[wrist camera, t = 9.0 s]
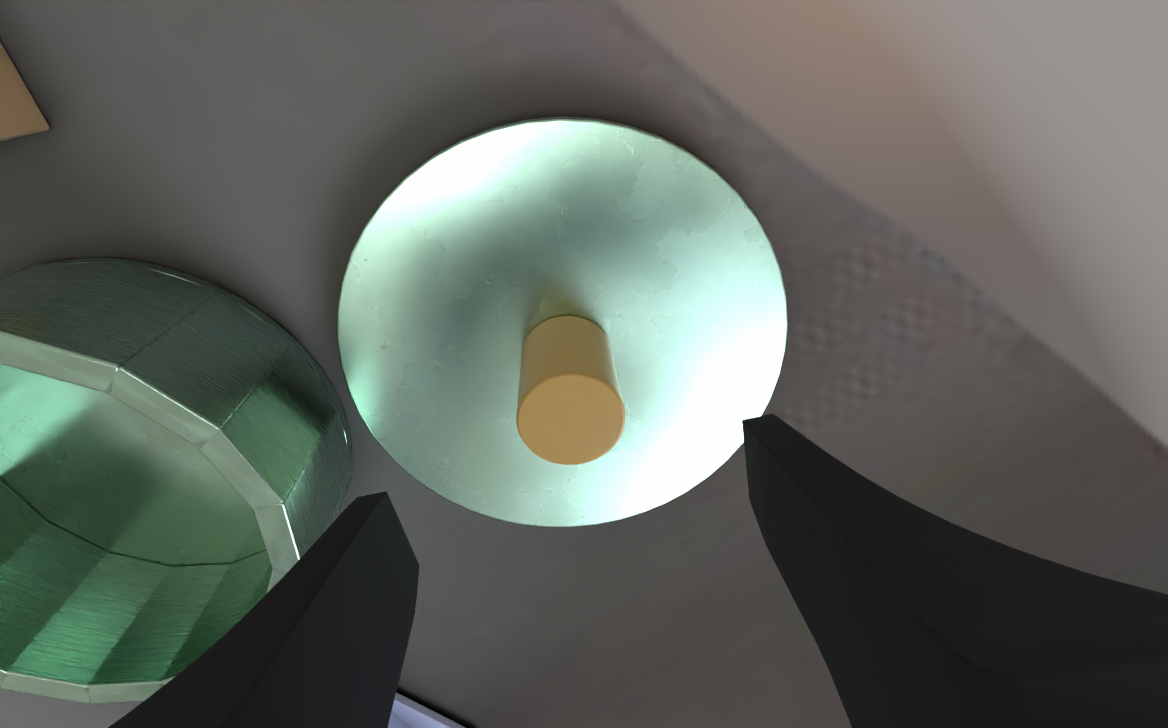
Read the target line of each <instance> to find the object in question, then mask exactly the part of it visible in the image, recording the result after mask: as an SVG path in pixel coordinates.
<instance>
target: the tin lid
mask: <svg viewBox="0 0 1168 728" xmlns="http://www.w3.org/2000/svg"><path fill="white" fill-rule="evenodd" d="M787 328H788V315H787V298H786V292H785V287H784V282H783V277H782V272H781V268H780V265H779V263H778V260H777V257H776V255H775V252H774V249H773V246H772V244H771V241H770V240H769V238H768V236H767V234H766V232H765V231H764V229H763V227H762V225H761V223H760V221H759V220H758V218H757V216H756V215H755V214H754V212H753V211H752V210H751V208H750V207H749V206H748V204H747V203H746V202H745V201H744V199H743V198H742V197H741V195H740V194H739V193H738V192H737V191H736V190H735V189H734V188H733V187H732V186H731V185H730V184H729V183H728V182H727V181H726V180H725V179H724V178H723V177H722V176H721V175H720V174H719V173H718V172H717V171H715V170H714V169H713V168H711V167H710V166H708V165H707V164H706V163H704V162H703V161H702V160H700V159H699V158H697V157H696V156H695V155H693V154H692V153H690V152H689V151H688V150H686V149H684V148H682V147H680V146H678V145H676V144H674V143H672V142H670V141H668V140H667V139H665V138H663V137H661V136H659V135H656V134H653V133H650V132H647V131H645V130H642V129H639V128H636V127H633V126H630V125H627V124H622V123H617V122H612V121H607V120H602V119H597V118H584V117H566V116H558V117H546V118H534V119H525V120H521V121H517V122H512V123H508V124H503V125H499V126H495V127H492V128H489V129H487V130H484V131H481V132H479V133H476V134H474V135H471V136H468V137H466V138H463V139H461V140H459V141H458V142H456V143H454V144H452V145H450V146H449V147H447V148H445V149H443V150H441V151H440V152H438V153H436V154H434V155H433V156H432V157H430V158H429V159H428V160H426V161H425V162H424V163H422V164H421V165H420V166H418V167H417V168H416V169H415V170H413V171H412V172H411V173H409V174H408V175H407V176H406V177H405V178H404V179H403V180H402V181H401V182H400V183H399V184H398V185H397V186H396V187H395V188H394V189H393V190H392V191H391V192H390V194H389V195H388V196H387V197H386V198H385V199H384V200H383V201H382V202H381V204H380V205H379V206H378V208H377V209H376V211H375V212H374V213H373V215H372V216H371V218H370V219H369V221H368V222H367V223H366V225H365V226H364V228H363V230H362V232H361V234H360V236H359V238H358V240H357V242H356V244H355V246H354V248H353V250H352V252H351V255H350V258H349V261H348V264H347V267H346V270H345V273H344V276H343V279H342V284H341V290H340V296H339V302H338V308H337V339H338V347H339V354H340V361H341V366H342V369H343V373H344V376H345V380H346V383H347V386H348V390H349V392H350V394H351V396H352V399H353V401H354V403H355V405H356V408H357V410H358V412H359V414H360V416H361V417H362V419H363V421H364V422H365V424H366V425H367V427H368V429H369V430H370V432H371V433H372V435H373V436H374V438H375V439H376V440H377V441H378V443H379V444H380V445H381V446H382V447H383V449H384V450H385V451H386V452H387V454H388V455H389V456H390V457H391V458H392V459H393V460H394V461H395V462H396V463H397V464H399V465H400V466H401V467H402V468H403V469H404V470H405V471H406V472H407V473H408V474H409V475H411V476H412V477H413V478H415V479H416V480H417V481H419V482H420V483H421V484H423V485H424V486H425V487H427V488H428V489H430V490H432V491H433V492H435V493H437V494H438V495H440V496H442V497H444V498H445V499H447V500H449V501H451V502H453V503H455V504H457V505H460V506H462V507H464V508H466V509H469V510H471V511H473V512H476V513H480V514H483V515H486V516H489V517H492V518H495V519H499V520H504V521H508V522H513V523H518V524H524V525H533V526H543V527H576V526H586V525H596V524H601V523H606V522H611V521H616V520H621V519H624V518H628V517H631V516H634V515H637V514H641V513H644V512H646V511H649V510H651V509H653V508H656V507H658V506H661V505H663V504H665V503H668V502H669V501H671V500H673V499H675V498H677V497H678V496H680V495H682V494H684V493H686V492H687V491H689V490H691V489H692V488H693V487H695V486H696V485H698V484H699V483H701V482H702V481H703V480H705V479H706V478H708V477H709V476H710V475H711V474H713V473H714V472H715V471H716V470H717V469H718V468H719V467H720V466H722V465H723V464H724V463H725V462H726V461H727V460H728V459H729V458H730V457H731V456H732V455H733V454H734V453H735V451H736V450H737V449H738V448H739V447H740V446H741V445H742V444H743V443H744V436H743V426H742V420H744V419H749V418H754V417H759V416H762V414H763V412H764V411H765V409H766V407H767V405H768V403H769V401H770V399H771V397H772V394H773V392H774V389H775V386H776V384H777V381H778V378H779V376H780V372H781V367H782V363H783V359H784V354H785V350H786V339H787Z"/></svg>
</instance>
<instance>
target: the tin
mask: <svg viewBox="0 0 1168 728" xmlns="http://www.w3.org/2000/svg"><path fill="white" fill-rule="evenodd" d="M351 471H352V446H351V438H350V431H349V427H348V424H347V421H346V417H345V414H344V411H343V408H342V406H341V404H340V401H339V399H338V397H337V395H336V393H335V391H334V389H333V387H332V385H331V384H330V382H329V381H328V379H327V377H326V376H325V374H324V373H323V371H322V369H321V368H320V367H319V366H318V364H317V363H316V362H315V361H314V359H313V358H312V357H311V356H310V354H309V353H308V352H307V351H306V350H305V348H304V347H303V346H302V345H301V344H300V343H299V342H298V341H296V340H295V339H294V338H293V337H292V336H291V335H290V334H289V333H288V332H287V331H286V330H285V329H284V328H283V327H281V326H280V325H279V324H278V323H276V322H275V321H274V320H273V319H271V318H270V317H269V316H268V315H266V314H265V313H264V312H262V311H261V310H259V309H258V308H256V307H255V306H253V305H251V304H250V303H248V302H247V301H245V300H243V299H242V298H240V297H239V296H237V295H235V294H233V293H231V292H229V291H227V290H225V289H223V288H221V287H219V286H217V285H215V284H213V283H211V282H209V281H206V280H203V279H201V278H198V277H195V276H193V275H190V274H187V273H185V272H182V271H179V270H175V269H171V268H167V267H163V266H160V265H156V264H152V263H146V262H139V261H133V260H126V259H115V258H81V259H69V260H60V261H56V262H52V263H47V264H37V265H31V266H29V267H26V268H24V269H22V270H19V271H17V272H15V273H13V274H10V275H8V276H6V277H3V278H1V279H0V687H1V688H2V689H8V690H13V691H19V692H25V693H31V694H37V695H42V696H48V697H54V698H60V699H65V700H71V701H77V702H83V703H93V704H97V703H115V702H133V701H145V700H146V699H147V698H149V697H150V696H151V695H152V694H154V693H155V692H156V691H158V690H159V689H160V688H161V687H163V686H164V685H165V684H166V683H168V682H169V681H170V680H172V679H173V678H174V677H175V676H177V675H178V674H179V673H181V672H182V671H183V670H184V669H186V668H187V667H188V666H189V665H190V664H192V663H193V662H194V661H195V660H196V659H197V658H199V657H200V656H201V655H202V654H203V653H204V652H205V651H207V650H208V649H209V648H210V647H211V646H212V645H213V644H215V643H216V642H217V641H218V640H219V639H220V638H221V637H223V636H224V635H225V634H226V633H227V632H228V631H229V630H230V629H231V628H232V627H233V626H234V625H236V624H237V623H238V622H239V621H240V620H241V619H242V618H243V617H244V616H245V615H246V614H247V613H248V612H249V611H250V610H251V609H252V608H253V607H254V606H255V605H256V604H257V603H258V602H259V601H260V600H261V599H262V598H263V597H264V596H265V595H266V594H267V593H268V592H269V591H270V590H271V589H272V588H273V587H274V586H275V585H276V584H277V583H278V582H279V581H280V580H281V579H282V578H283V577H284V576H285V575H286V573H287V572H288V571H289V570H290V569H291V568H292V567H293V566H294V565H295V564H296V563H297V562H298V560H299V559H300V558H301V557H302V556H303V555H304V554H305V553H306V552H307V551H308V550H309V548H310V547H311V546H312V545H313V544H314V543H315V542H316V541H317V540H318V539H319V537H320V536H321V535H322V534H323V533H324V532H325V531H326V530H327V529H328V528H329V526H330V525H331V524H332V523H333V522H334V521H335V520H336V519H337V518H338V516H339V512H340V509H341V505H342V502H343V499H344V496H345V494H346V491H347V488H348V485H349V480H350V475H351Z"/></svg>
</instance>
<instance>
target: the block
mask: <svg viewBox="0 0 1168 728" xmlns="http://www.w3.org/2000/svg"><path fill="white" fill-rule="evenodd" d="M48 129H49V125H48V124H47V122H46V120H45V118H44V117H43V115H42V113H41V111H40V110H39V108H38V106H37V105H36V103H35V101H34V99H33V98H32V96H31V94H30V92H29V91H28V89H27V87H26V85H25V84H24V82H23V80H22V79H21V77H20V75H19V73H18V72H17V70H16V68H15V66H14V65H13V63H12V61H11V59H10V58H9V56H8V54H7V53H6V51H5V49H4V47H3V46H2V44H1V42H0V142H1V141H5V140H9V139H13V138H17V137H22V136H26V135H30V134H34V133H39V132H43V131H47V130H48Z"/></svg>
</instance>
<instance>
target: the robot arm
mask: <svg viewBox="0 0 1168 728" xmlns="http://www.w3.org/2000/svg"><path fill="white" fill-rule="evenodd" d="M742 426H743V436H744V447H745V457H746V467H747V477H748V487H749V497H750V502H751V505H752V508H753V511H754V514H755V516H756V519H757V522H758V525H759V527H760V530H761V533H762V535H763V538H764V541H765V543H766V546H767V548H768V550H769V552H770V554H771V556H772V558H773V560H774V562H775V563H776V565H777V567H778V569H779V571H780V573H781V575H782V577H783V579H784V581H785V583H786V585H787V587H788V589H789V591H790V593H791V595H792V597H793V598H794V600H795V602H796V604H797V606H798V608H799V610H800V612H801V614H802V616H803V618H804V620H805V622H806V624H807V625H808V627H809V629H810V631H811V633H812V635H813V637H814V639H815V641H816V643H817V645H818V647H819V649H820V651H821V653H822V656H823V658H824V660H825V662H826V664H827V666H828V669H829V671H830V673H831V676H832V678H833V681H834V683H835V686H836V688H837V691H838V693H839V696H840V698H841V701H842V703H843V706H844V708H845V711H846V713H847V716H848V718H849V721H850V723H851V726H852V728H1168V595H1167V594H1163V593H1159V592H1156V591H1152V590H1148V589H1144V588H1140V587H1137V586H1133V585H1129V584H1125V583H1122V582H1118V581H1114V580H1110V579H1107V578H1103V577H1099V576H1096V575H1092V574H1089V573H1086V572H1083V571H1079V570H1076V569H1073V568H1070V567H1067V566H1064V565H1061V564H1058V563H1055V562H1052V561H1049V560H1045V559H1042V558H1039V557H1037V556H1034V555H1031V554H1028V553H1025V552H1023V551H1020V550H1017V549H1014V548H1012V547H1009V546H1006V545H1004V544H1001V543H999V542H996V541H994V540H991V539H989V538H986V537H984V536H981V535H979V534H976V533H974V532H971V531H969V530H967V529H964V528H962V527H960V526H957V525H955V524H953V523H951V522H948V521H946V520H944V519H942V518H940V517H938V516H936V515H934V514H932V513H930V512H928V511H926V510H924V509H921V508H919V507H917V506H915V505H913V504H911V503H909V502H907V501H906V500H904V499H902V498H900V497H898V496H896V495H894V494H893V493H891V492H889V491H887V490H886V489H884V488H882V487H880V486H879V485H877V484H875V483H874V482H872V481H870V480H868V479H867V478H865V477H863V476H862V475H860V474H859V473H857V472H855V471H854V470H852V469H851V468H849V467H848V466H846V465H845V464H843V463H842V462H840V461H839V460H837V459H836V458H834V457H833V456H831V455H830V454H828V453H827V452H825V451H824V450H823V449H821V448H820V447H818V446H817V445H815V444H814V443H813V442H811V441H810V440H808V439H807V438H806V437H804V436H803V435H802V434H800V433H799V432H797V431H796V430H795V429H793V428H792V427H791V426H789V425H788V424H787V423H785V422H784V421H782V420H781V419H780V418H778V417H777V416H775V415H774V414H769V415H764V416H759V417H754V418H749V419H744V420H742ZM418 575H419V564H418V561H417V559H416V557H415V555H414V552H413V550H412V548H411V546H410V543H409V541H408V539H407V537H406V534H405V532H404V530H403V528H402V525H401V523H400V521H399V518H398V516H397V514H396V512H395V509H394V507H393V505H392V503H391V500H390V498H389V496H388V494H387V491H386V492H381V493H376V494H371V495H366V496H361V497H357V498H356V499H355V500H354V501H353V502H352V503H351V504H350V505H349V506H348V507H347V508H346V509H345V510H344V511H343V512H342V513H341V514H340V515H339V517H338V518H337V519H336V520H335V521H334V522H333V523H332V524H331V525H330V526H329V528H328V529H327V530H326V531H325V532H324V533H323V534H322V535H321V536H320V537H319V539H318V540H317V541H316V542H315V543H314V544H313V545H312V546H311V547H310V548H309V550H308V551H307V552H306V553H305V554H304V555H303V556H302V557H301V558H300V559H299V560H298V562H297V563H296V564H295V565H294V566H293V567H292V568H291V569H290V570H289V571H288V572H287V573H286V575H285V576H284V577H283V578H282V579H281V580H280V581H279V582H278V583H277V584H276V585H275V586H274V587H273V588H272V589H271V590H270V591H269V592H268V593H267V594H266V595H265V596H264V597H263V598H262V599H261V600H260V601H259V602H258V603H257V604H256V605H255V606H254V607H253V608H252V609H251V610H250V611H249V612H248V613H247V614H246V615H245V616H244V617H243V618H242V619H241V620H240V621H239V622H238V623H237V624H236V625H234V626H233V627H232V628H231V629H230V630H229V631H228V632H227V633H226V634H225V635H224V636H223V637H221V638H220V639H219V640H218V641H217V642H216V643H215V644H213V645H212V646H211V647H210V648H209V649H208V650H207V651H205V652H204V653H203V654H202V655H201V656H200V657H199V658H197V659H196V660H195V661H194V662H193V663H192V664H190V665H189V666H188V667H187V668H186V669H184V670H183V671H182V672H181V673H179V674H178V675H177V676H175V677H174V678H173V679H172V680H170V681H169V682H168V683H166V684H165V685H164V686H163V687H161V688H160V689H159V690H158V691H156V692H155V693H154V694H152V695H151V696H150V697H149V698H147V699H146V700H145V701H143V702H142V703H141V704H140V705H138V706H137V707H136V708H135V709H133V710H132V711H131V712H129V713H128V714H127V715H125V716H124V717H122V718H121V719H120V720H118V721H117V722H115V723H114V724H113V725H111V726H110V727H108V728H466V727H464V726H462V725H460V724H458V723H456V722H454V721H452V720H450V719H448V718H446V717H444V716H442V715H440V714H438V713H436V712H434V711H432V710H430V709H428V708H426V707H424V706H422V705H420V704H418V703H416V702H414V701H412V700H410V699H408V698H406V697H404V696H402V695H400V694H399V693H397V692H396V691H397V686H398V682H399V678H400V674H401V670H402V666H403V662H404V657H405V653H406V649H407V645H408V640H409V636H410V632H411V627H412V623H413V618H414V614H415V606H416V597H417V587H418Z"/></svg>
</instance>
